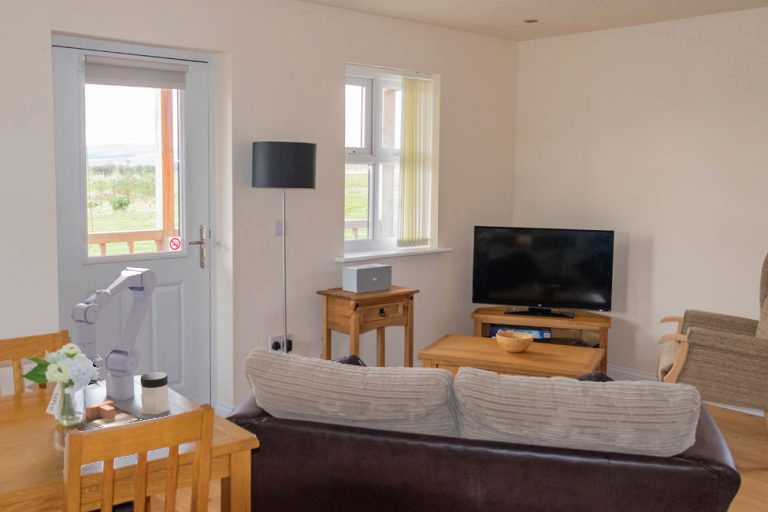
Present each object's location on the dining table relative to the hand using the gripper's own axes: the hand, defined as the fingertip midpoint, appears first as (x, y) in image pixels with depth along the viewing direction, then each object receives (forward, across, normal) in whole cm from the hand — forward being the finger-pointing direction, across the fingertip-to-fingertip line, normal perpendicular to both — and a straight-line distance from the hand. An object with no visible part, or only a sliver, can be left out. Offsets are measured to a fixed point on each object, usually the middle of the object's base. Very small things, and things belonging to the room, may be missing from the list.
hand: (89, 384), depth 248 cm
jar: (+10, +15, +14) cm, 22 cm away
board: (+9, +10, 0) cm, 14 cm away
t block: (+8, +8, 0) cm, 12 cm away
